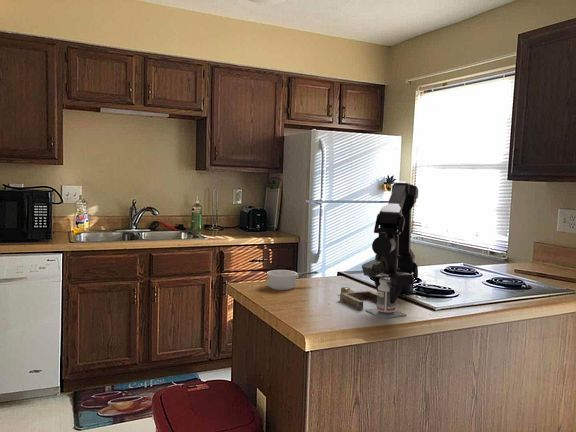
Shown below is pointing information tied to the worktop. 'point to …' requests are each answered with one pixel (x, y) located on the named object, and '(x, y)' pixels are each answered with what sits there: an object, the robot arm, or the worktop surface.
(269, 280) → the saucepan
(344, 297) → the ball knob bracket
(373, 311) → the coaster
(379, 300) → the pill bottle
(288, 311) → the worktop surface
